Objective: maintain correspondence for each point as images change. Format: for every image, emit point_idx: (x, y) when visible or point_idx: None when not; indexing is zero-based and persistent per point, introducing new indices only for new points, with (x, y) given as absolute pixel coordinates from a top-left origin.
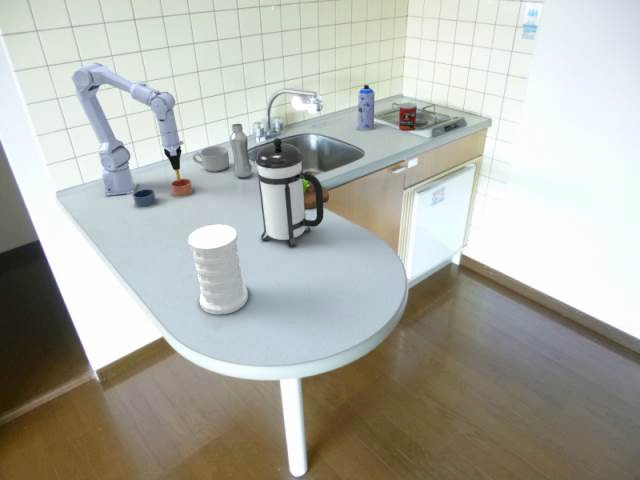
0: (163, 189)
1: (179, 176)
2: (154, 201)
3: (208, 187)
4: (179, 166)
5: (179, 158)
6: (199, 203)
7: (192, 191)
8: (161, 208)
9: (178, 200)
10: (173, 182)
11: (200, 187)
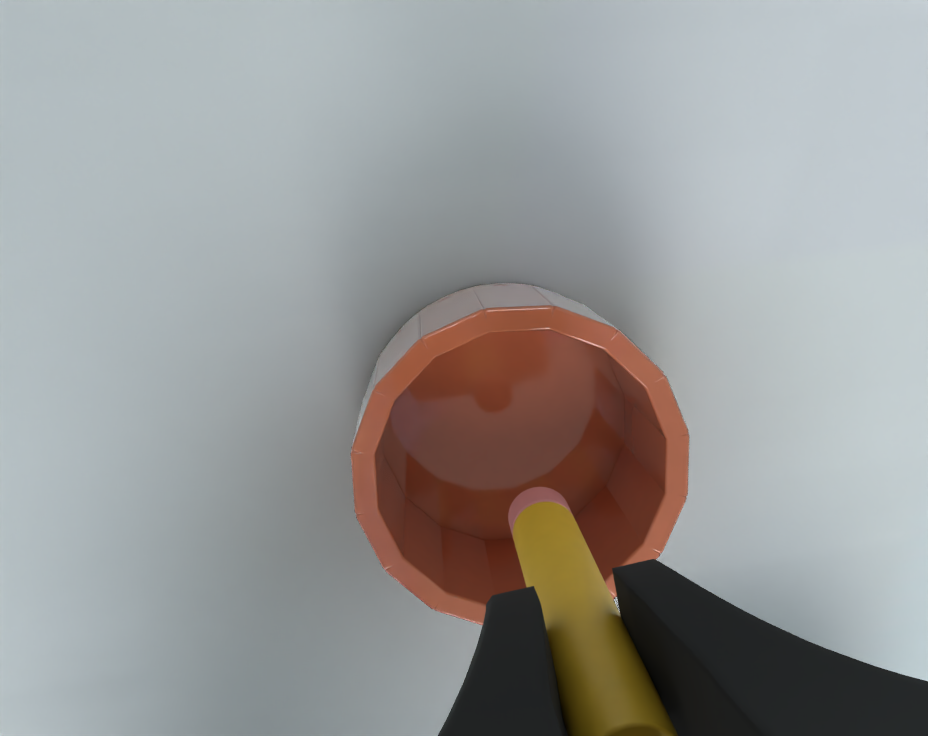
0: (323, 696)
1: (571, 523)
2: None
3: (372, 51)
4: (690, 586)
5: (898, 683)
6: (908, 143)
7: (521, 286)
8: (897, 614)
9: (727, 447)
10: (471, 598)
11: (348, 185)
